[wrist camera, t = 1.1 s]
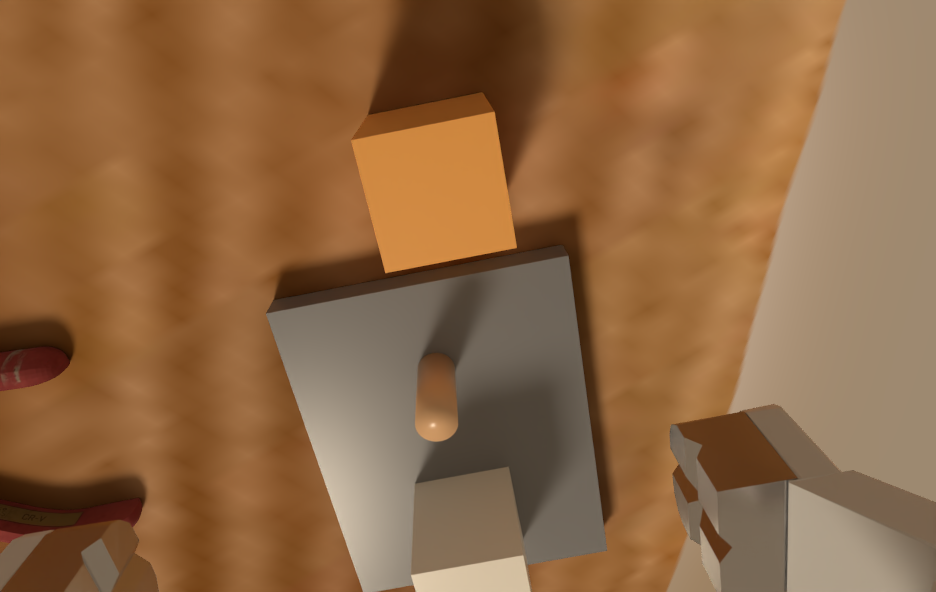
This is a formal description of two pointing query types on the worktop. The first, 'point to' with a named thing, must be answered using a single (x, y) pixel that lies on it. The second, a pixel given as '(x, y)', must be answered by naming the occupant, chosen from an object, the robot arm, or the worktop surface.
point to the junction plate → (489, 394)
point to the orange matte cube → (435, 182)
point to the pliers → (19, 519)
